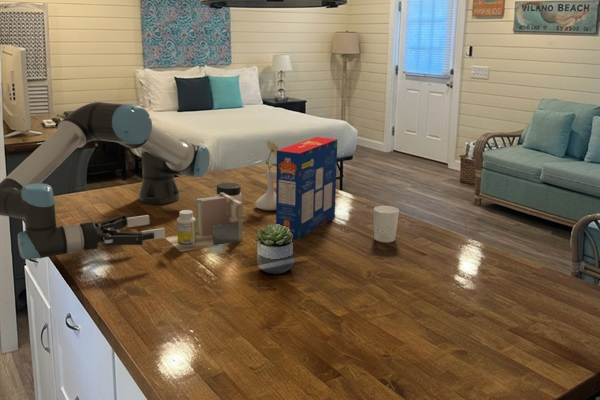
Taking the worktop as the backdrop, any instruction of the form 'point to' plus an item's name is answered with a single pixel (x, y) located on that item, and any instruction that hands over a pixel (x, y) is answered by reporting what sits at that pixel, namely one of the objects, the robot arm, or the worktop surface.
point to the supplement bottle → (186, 228)
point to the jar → (230, 190)
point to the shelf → (207, 241)
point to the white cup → (385, 223)
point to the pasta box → (306, 185)
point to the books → (210, 214)
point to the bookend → (225, 233)
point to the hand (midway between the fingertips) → (156, 225)
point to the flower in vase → (269, 184)
